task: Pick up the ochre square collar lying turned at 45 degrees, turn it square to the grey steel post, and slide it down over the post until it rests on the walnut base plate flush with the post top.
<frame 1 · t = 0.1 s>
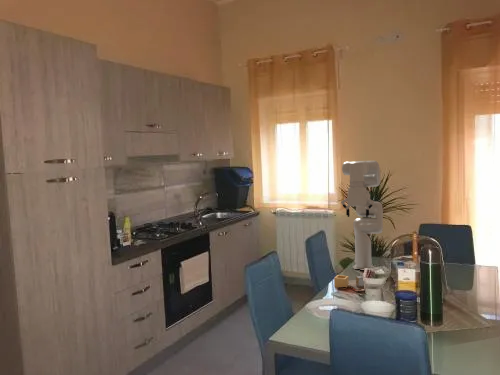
hand: (357, 216, 215), 37 cm above the table, tool pointing down, fingers open, 9 cm apart
base plate: (360, 289, 210), on the table
post: (359, 281, 210), on the base plate, point 4 cm above the table
collar: (341, 286, 216), on the table
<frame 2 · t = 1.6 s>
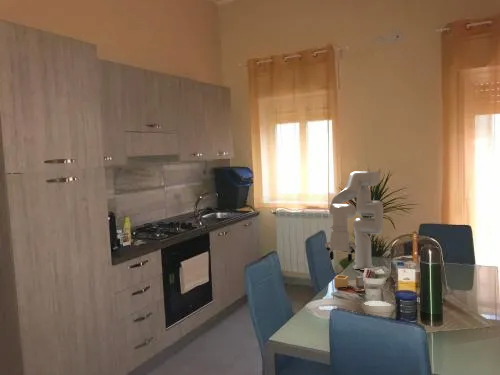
hand: (340, 260, 215), 14 cm above the table, tool pointing down, fingers open, 9 cm apart
nothing on the table moved.
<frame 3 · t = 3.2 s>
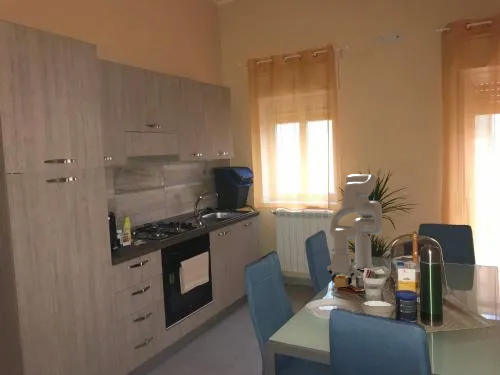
hand: (342, 283, 216), 2 cm above the table, tool pointing down, fingers open, 7 cm apart
nothing on the table moved.
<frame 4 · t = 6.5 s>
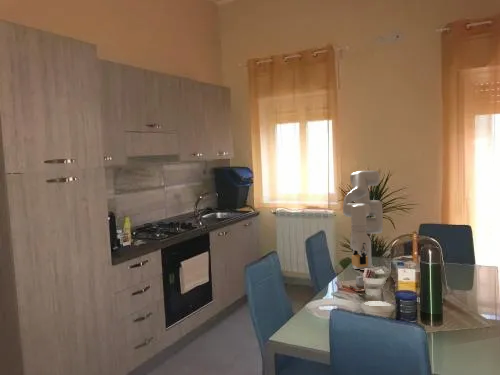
hand: (359, 262, 209), 14 cm above the table, tool pointing down, fingers closed on collar, 6 cm apart
collar: (359, 265, 209), point 13 cm above the table, touching gripper
everything else where it was.
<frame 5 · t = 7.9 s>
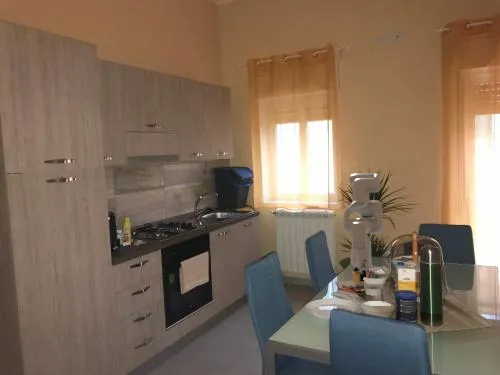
hand: (359, 278, 210), 5 cm above the table, tool pointing down, fingers closed on collar, 6 cm apart
collar: (360, 281, 210), point 4 cm above the table, touching gripper
everything else where it was.
when the fingers open (4 cm above the table, at t = 9.2 s): collar stays where it is, resting on base plate.
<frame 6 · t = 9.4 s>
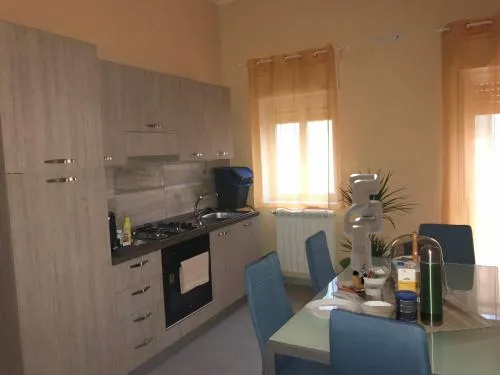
hand: (359, 281, 210), 4 cm above the table, tool pointing down, fingers open, 8 cm apart
collar: (360, 286, 210), point 1 cm above the table, touching base plate
everything else where it was.
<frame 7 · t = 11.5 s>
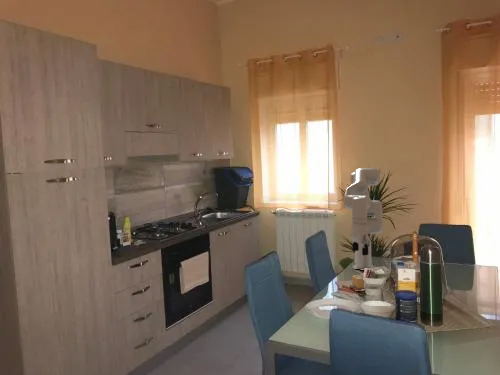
hand: (360, 252, 211), 19 cm above the table, tool pointing down, fingers open, 9 cm apart
nothing on the table moved.
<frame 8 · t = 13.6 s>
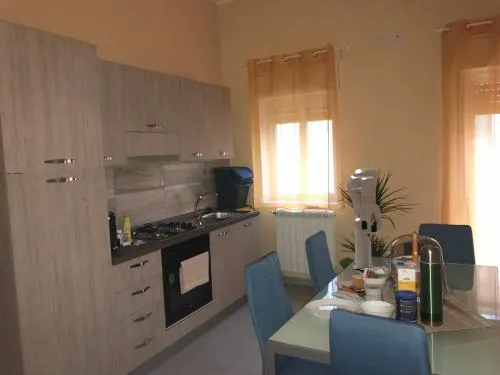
hand: (369, 230, 221), 28 cm above the table, tool pointing down, fingers open, 9 cm apart
nothing on the table moved.
at the end: collar 0.3 cm from the target spot, point 1.5 cm above the table; collar tilted 0°; the gripper is holding nothing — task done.
